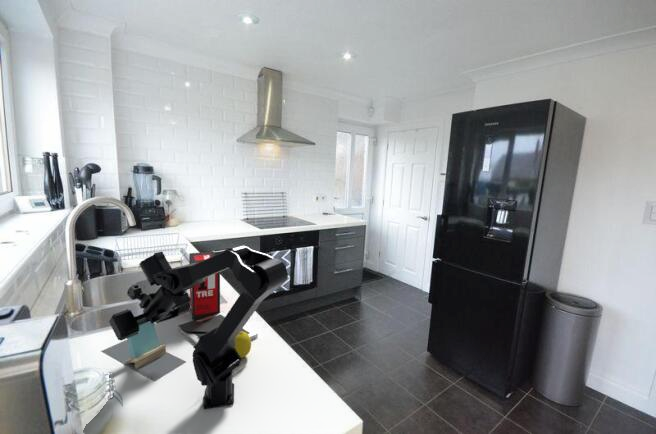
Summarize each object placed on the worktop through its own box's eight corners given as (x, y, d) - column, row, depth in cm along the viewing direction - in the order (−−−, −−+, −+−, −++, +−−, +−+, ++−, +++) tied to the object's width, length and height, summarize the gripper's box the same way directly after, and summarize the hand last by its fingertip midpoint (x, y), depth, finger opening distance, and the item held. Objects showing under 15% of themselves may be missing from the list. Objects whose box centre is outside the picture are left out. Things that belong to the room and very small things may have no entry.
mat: (186, 363, 80) (186, 361, 80) (154, 382, 72) (154, 381, 72) (134, 337, 91) (134, 336, 91) (101, 352, 83) (101, 351, 83)
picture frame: (178, 333, 96) (211, 361, 83) (178, 325, 95) (211, 352, 82) (222, 316, 108) (257, 339, 95) (222, 309, 108) (257, 330, 95)
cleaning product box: (220, 316, 107) (219, 263, 104) (193, 321, 103) (192, 265, 100) (213, 298, 121) (213, 251, 119) (190, 302, 117) (189, 253, 114)
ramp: (166, 354, 84) (165, 344, 83) (137, 370, 76) (136, 359, 76) (154, 349, 86) (154, 339, 85) (125, 364, 79) (125, 353, 78)
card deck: (159, 346, 83) (152, 311, 83) (135, 358, 78) (127, 321, 77) (154, 345, 84) (147, 311, 84) (130, 358, 79) (122, 321, 78)
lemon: (227, 357, 84) (227, 331, 82) (244, 350, 88) (244, 324, 87) (237, 366, 80) (237, 339, 79) (254, 358, 84) (255, 332, 83)
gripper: (183, 263, 84) (159, 292, 91) (111, 283, 68) (88, 316, 74) (202, 296, 82) (177, 323, 88) (132, 325, 65) (108, 355, 72)
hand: (141, 327), depth 81 cm, fingers open, 8 cm apart
